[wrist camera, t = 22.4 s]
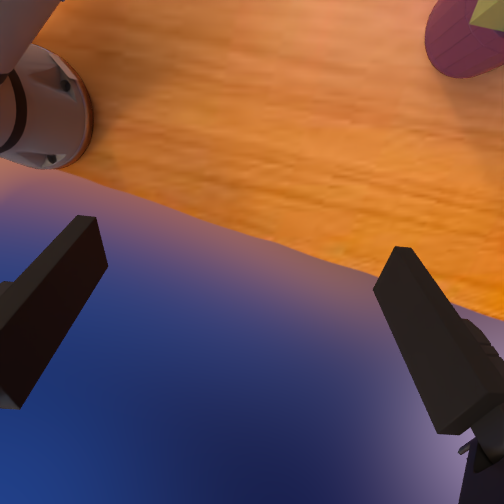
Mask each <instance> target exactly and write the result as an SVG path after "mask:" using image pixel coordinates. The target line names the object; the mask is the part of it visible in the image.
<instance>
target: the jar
mask: <svg viewBox="0 0 504 504" xmlns="http://www.w3.org/2000/svg"><path fill="white" fill-rule="evenodd" d="M477 2H478V0H438V2H437V3H436V5H435V6H434V8H433V10H432V12H431V14H430V16H429V19H428V22H427V26H426V31H425V46H426V51H427V55H428V57H429V59H430V61H431V63H432V64H433V65H434V66H435V68H436V69H437V70H439V71H440V72H441V73H443V74H445V75H447V76H450V77H454V78H470V77H474V76H477V75H480V74H483V73H486V72H488V71H490V70H492V69H494V68H497V67H499V66H501V65H503V64H504V32H502V31H498V30H493V29H489V28H485V27H480V26H476V25H471V24H469V22H470V20H471V17H472V15H473V12H474V10H475V7H476V5H477Z"/></svg>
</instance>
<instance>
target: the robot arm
mask: <svg viewBox="0 0 504 504" xmlns="http://www.w3.org/2000/svg"><path fill="white" fill-rule="evenodd" d="M60 1H62V2H64V1H65V0H0V157H1V158H4V159H7V160H10V161H12V162H15V163H18V164H21V165H24V166H27V167H31V168H35V169H59V168H63V167H66V166H69V165H71V164H72V163H74V162H75V161H77V160H78V159H79V158H80V157H81V155H82V154H83V153H84V151H85V150H86V148H87V146H88V144H89V142H90V139H91V135H92V129H93V112H92V106H91V102H90V98H89V95H88V92H87V90H86V88H85V86H84V84H83V82H82V80H81V79H80V77H79V76H78V74H77V73H76V72H75V70H74V69H73V68H72V67H71V66H70V65H69V64H68V63H67V62H66V61H65V60H63V59H62V58H61V57H59V56H58V55H56V54H54V53H53V52H51V51H48V50H46V49H44V48H42V47H40V46H37V45H34V44H31V43H32V41H33V40H34V38H35V37H36V36H37V34H38V33H39V31H40V30H41V28H42V27H43V26H44V24H45V23H46V21H47V20H48V18H49V17H50V16H51V14H52V13H53V11H54V10H55V8H56V7H57V5H58V4H59V3H60ZM107 267H108V263H107V259H106V255H105V251H104V247H103V243H102V240H101V235H100V231H99V227H98V223H97V219H96V217H91V216H81V215H77V216H76V217H75V218H74V219H73V220H72V221H71V222H70V223H69V225H68V226H67V227H66V228H65V229H64V230H63V231H62V232H61V233H60V234H59V235H58V236H57V237H56V238H55V239H54V240H53V241H52V242H51V244H50V245H49V246H48V247H47V248H46V249H45V250H44V251H43V252H42V253H41V254H40V255H39V256H38V257H37V258H36V259H35V260H34V261H33V262H32V264H30V266H29V267H28V268H27V269H26V270H25V271H24V272H23V273H22V274H21V275H20V276H19V277H18V278H17V279H16V280H15V281H14V282H8V281H4V282H2V283H0V408H2V409H19V410H20V409H21V407H22V405H23V404H24V402H25V400H26V399H27V397H28V396H29V394H30V392H31V391H32V389H33V387H34V386H35V384H36V383H37V381H38V379H39V378H40V376H41V374H42V373H43V371H44V369H45V368H46V366H47V365H48V363H49V361H50V360H51V358H52V357H53V355H54V353H55V352H56V350H57V348H58V347H59V345H60V344H61V342H62V340H63V339H64V337H65V336H66V334H67V332H68V330H69V329H70V327H71V326H72V324H73V323H74V321H75V319H76V318H77V316H78V315H79V313H80V311H81V310H82V308H83V306H84V305H85V303H86V302H87V300H88V298H89V297H90V295H91V293H92V292H93V290H94V289H95V287H96V285H97V284H98V282H99V280H100V279H101V277H102V275H103V274H104V272H105V271H106V269H107ZM373 291H374V293H375V296H376V298H377V300H378V302H379V305H380V307H381V309H382V311H383V314H384V316H385V318H386V320H387V322H388V325H389V327H390V329H391V331H392V334H393V336H394V338H395V340H396V343H397V345H398V347H399V349H400V351H401V354H402V356H403V358H404V360H405V363H406V364H407V367H408V369H409V372H410V374H411V376H412V378H413V380H414V383H415V385H416V387H417V389H418V392H419V394H420V396H421V398H422V401H423V403H424V405H425V407H426V410H427V412H428V414H429V416H430V419H431V421H432V423H433V425H434V427H435V430H436V432H437V434H447V435H460V434H462V433H463V432H465V431H466V430H467V429H469V428H470V427H471V429H472V431H473V433H474V435H475V436H476V437H475V438H474V439H472V440H471V441H469V442H468V443H466V444H465V445H464V446H462V447H461V448H460V449H459V451H458V453H459V454H460V455H462V454H464V453H465V452H466V451H468V450H469V453H468V458H467V463H466V468H465V473H464V478H463V483H462V488H461V493H460V498H459V503H458V504H504V361H503V359H502V358H501V357H499V354H498V353H497V351H496V350H495V348H494V347H493V346H491V343H490V342H489V340H488V339H487V338H486V336H485V335H484V334H483V332H482V331H481V330H480V329H479V328H478V327H476V326H475V325H474V324H473V323H472V322H471V321H469V320H468V319H461V317H460V316H459V315H458V313H457V312H456V311H455V309H454V308H453V306H452V305H451V303H450V302H449V300H448V299H447V298H446V296H445V295H444V293H443V292H442V291H441V289H440V288H439V286H438V285H437V283H436V282H435V281H434V279H433V278H432V276H431V275H430V274H429V272H428V271H427V269H426V268H425V266H424V265H423V264H422V262H421V261H420V259H419V258H418V257H417V255H416V254H415V252H414V251H413V249H412V248H408V247H398V246H395V247H394V249H393V251H392V253H391V255H390V257H389V259H388V261H387V263H386V265H385V267H384V269H383V271H382V272H381V274H380V276H379V278H378V280H377V283H376V284H375V286H374V288H373Z"/></svg>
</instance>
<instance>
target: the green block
mask: <svg viewBox="0 0 504 504" xmlns="http://www.w3.org/2000/svg"><path fill="white" fill-rule="evenodd" d="M469 24H471V25H476V26H480V27H485V28H489V29H493V30H498V31H502V32H504V0H478V2H477V5H476V7H475V10H474V12H473V15H472V17H471V20H470V22H469Z"/></svg>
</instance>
